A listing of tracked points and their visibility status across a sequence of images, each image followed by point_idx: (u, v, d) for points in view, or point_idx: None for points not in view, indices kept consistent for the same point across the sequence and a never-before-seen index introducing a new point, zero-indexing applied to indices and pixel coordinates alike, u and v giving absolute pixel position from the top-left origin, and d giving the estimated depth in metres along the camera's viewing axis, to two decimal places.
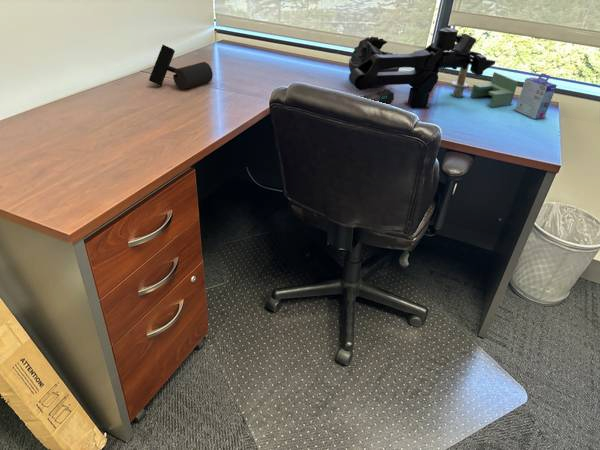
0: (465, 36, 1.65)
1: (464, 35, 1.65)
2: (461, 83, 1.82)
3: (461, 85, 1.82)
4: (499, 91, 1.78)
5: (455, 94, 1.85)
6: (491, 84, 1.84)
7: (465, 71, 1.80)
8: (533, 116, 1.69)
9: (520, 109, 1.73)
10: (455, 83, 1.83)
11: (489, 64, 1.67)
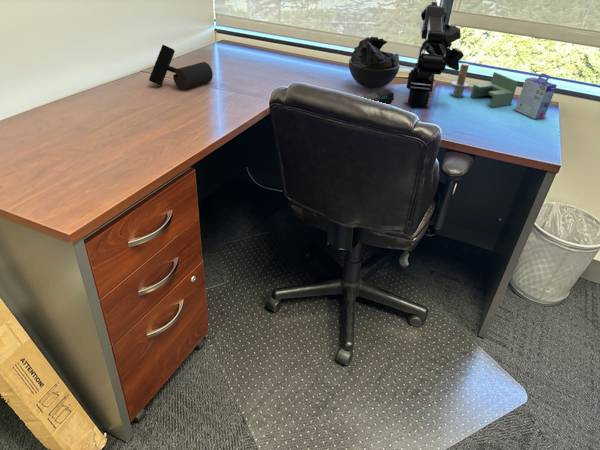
0: (455, 28, 1.67)
1: (454, 27, 1.68)
2: (461, 83, 1.82)
3: (461, 85, 1.82)
4: (499, 91, 1.78)
5: (455, 94, 1.85)
6: (491, 84, 1.84)
7: (465, 71, 1.80)
8: (533, 116, 1.69)
9: (520, 109, 1.73)
10: (455, 83, 1.83)
11: (455, 66, 1.71)
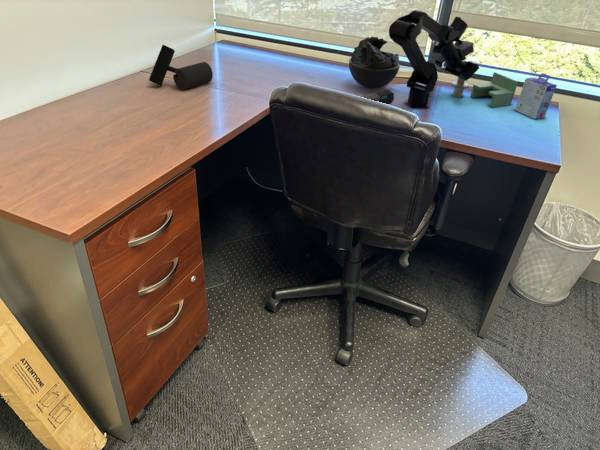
0: (467, 42, 1.75)
1: (466, 42, 1.75)
2: (461, 83, 1.82)
3: (461, 85, 1.82)
4: (499, 91, 1.78)
5: (455, 94, 1.85)
6: (491, 84, 1.84)
7: None
8: (533, 116, 1.69)
9: (520, 109, 1.73)
10: (455, 83, 1.83)
11: None
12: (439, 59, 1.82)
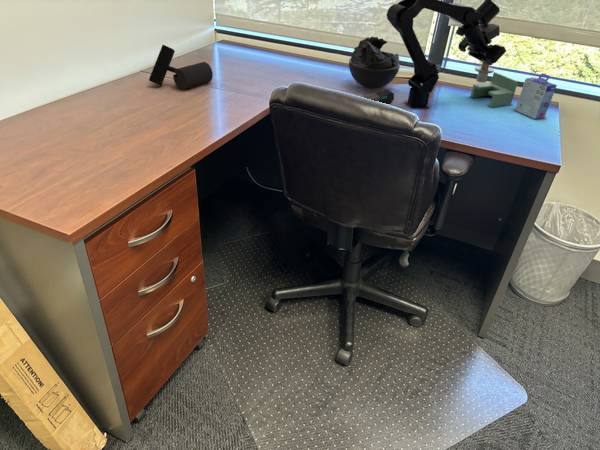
0: (493, 25, 1.68)
1: (492, 24, 1.69)
2: (485, 68, 1.76)
3: (486, 70, 1.76)
4: (499, 91, 1.78)
5: (479, 80, 1.79)
6: (491, 84, 1.84)
7: None
8: (533, 116, 1.69)
9: (520, 109, 1.73)
10: (479, 68, 1.77)
11: None
12: (463, 43, 1.76)
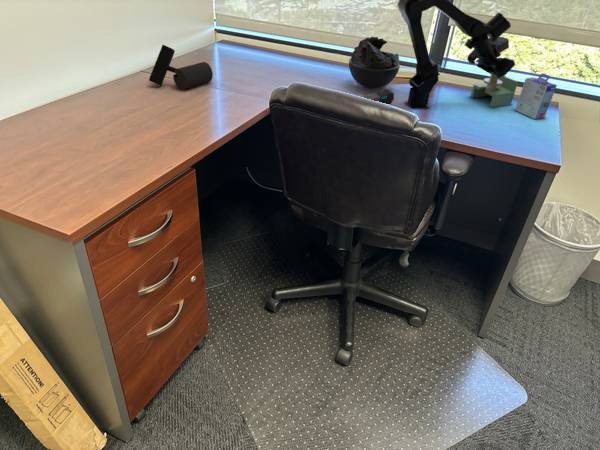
0: (502, 38, 1.69)
1: (501, 37, 1.70)
2: (494, 80, 1.77)
3: (494, 82, 1.76)
4: (499, 91, 1.78)
5: (487, 92, 1.80)
6: None
7: None
8: (533, 116, 1.69)
9: (520, 109, 1.73)
10: (488, 80, 1.78)
11: None
12: (472, 55, 1.76)
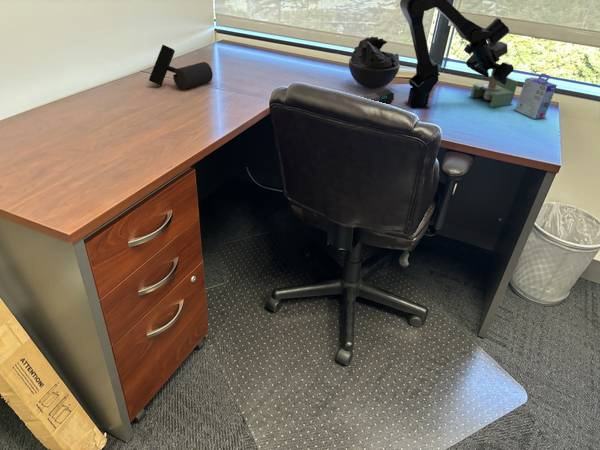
0: (501, 43, 1.70)
1: (500, 42, 1.71)
2: (493, 86, 1.78)
3: (493, 88, 1.78)
4: (499, 91, 1.78)
5: (486, 97, 1.81)
6: None
7: None
8: (533, 116, 1.69)
9: (520, 109, 1.73)
10: (486, 86, 1.79)
11: (504, 80, 1.73)
12: (471, 60, 1.77)
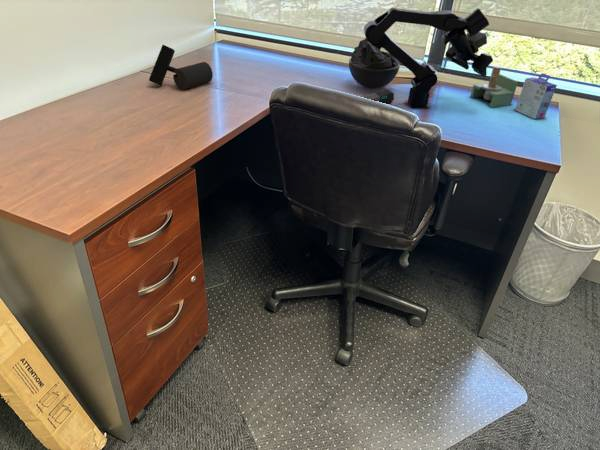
0: (480, 33, 1.65)
1: (479, 33, 1.65)
2: (493, 86, 1.78)
3: (493, 88, 1.78)
4: (499, 91, 1.78)
5: (486, 97, 1.81)
6: None
7: (497, 74, 1.75)
8: (533, 116, 1.69)
9: (520, 109, 1.73)
10: (486, 86, 1.79)
11: (483, 72, 1.67)
12: (450, 51, 1.72)
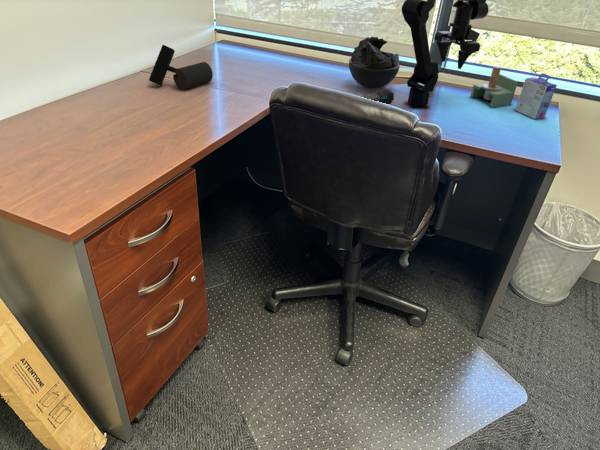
0: None
1: None
2: (493, 86, 1.78)
3: (493, 88, 1.78)
4: (499, 91, 1.78)
5: (486, 97, 1.81)
6: None
7: (497, 74, 1.75)
8: (533, 116, 1.69)
9: (520, 109, 1.73)
10: (486, 86, 1.79)
11: (462, 62, 1.69)
12: (441, 32, 1.74)
